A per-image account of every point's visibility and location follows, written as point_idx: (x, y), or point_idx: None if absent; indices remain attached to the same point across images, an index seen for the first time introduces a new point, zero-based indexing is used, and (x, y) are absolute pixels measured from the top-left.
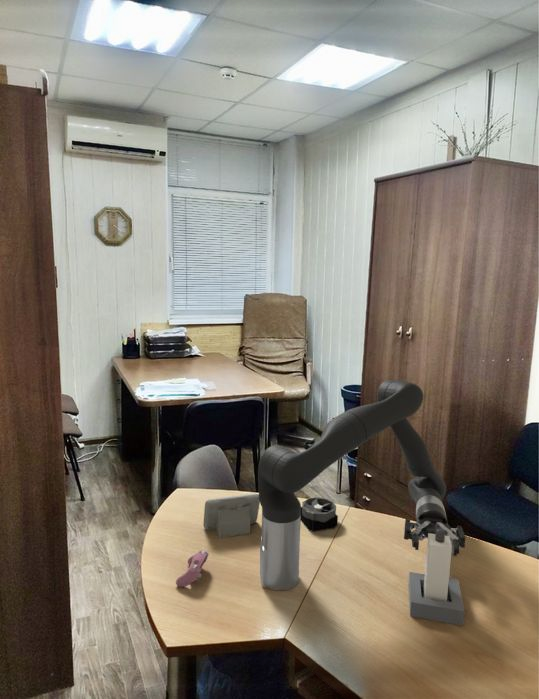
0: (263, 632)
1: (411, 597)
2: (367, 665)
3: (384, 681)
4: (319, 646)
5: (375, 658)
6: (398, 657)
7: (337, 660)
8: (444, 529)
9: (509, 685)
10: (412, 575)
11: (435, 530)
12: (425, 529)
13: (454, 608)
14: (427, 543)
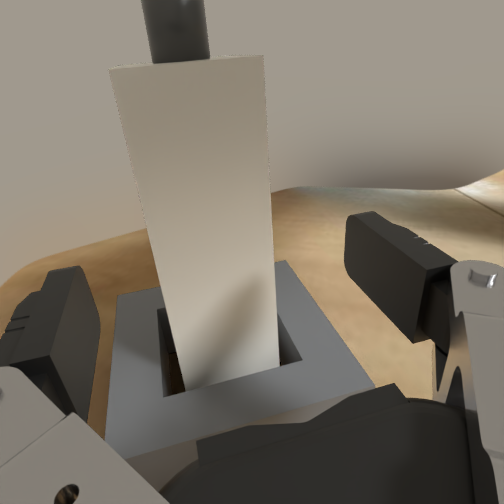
0: (488, 183)
1: (292, 272)
2: (309, 205)
3: (274, 201)
4: (396, 198)
5: (304, 214)
6: None
7: (353, 196)
8: (121, 467)
9: (67, 257)
10: (346, 367)
11: (295, 447)
12: (450, 407)
13: (150, 291)
14: (265, 136)
